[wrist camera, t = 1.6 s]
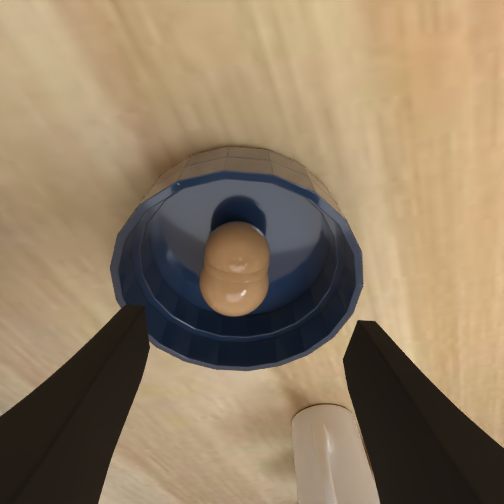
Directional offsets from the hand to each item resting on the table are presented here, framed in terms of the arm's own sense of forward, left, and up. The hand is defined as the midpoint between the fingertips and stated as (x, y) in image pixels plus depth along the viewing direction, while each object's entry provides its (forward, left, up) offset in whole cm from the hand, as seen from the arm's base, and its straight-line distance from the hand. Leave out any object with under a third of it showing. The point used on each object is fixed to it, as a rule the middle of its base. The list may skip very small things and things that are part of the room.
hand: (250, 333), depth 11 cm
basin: (-2, -1, -10) cm, 10 cm away
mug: (-12, -19, -10) cm, 24 cm away
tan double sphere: (-2, -1, -9) cm, 9 cm away
